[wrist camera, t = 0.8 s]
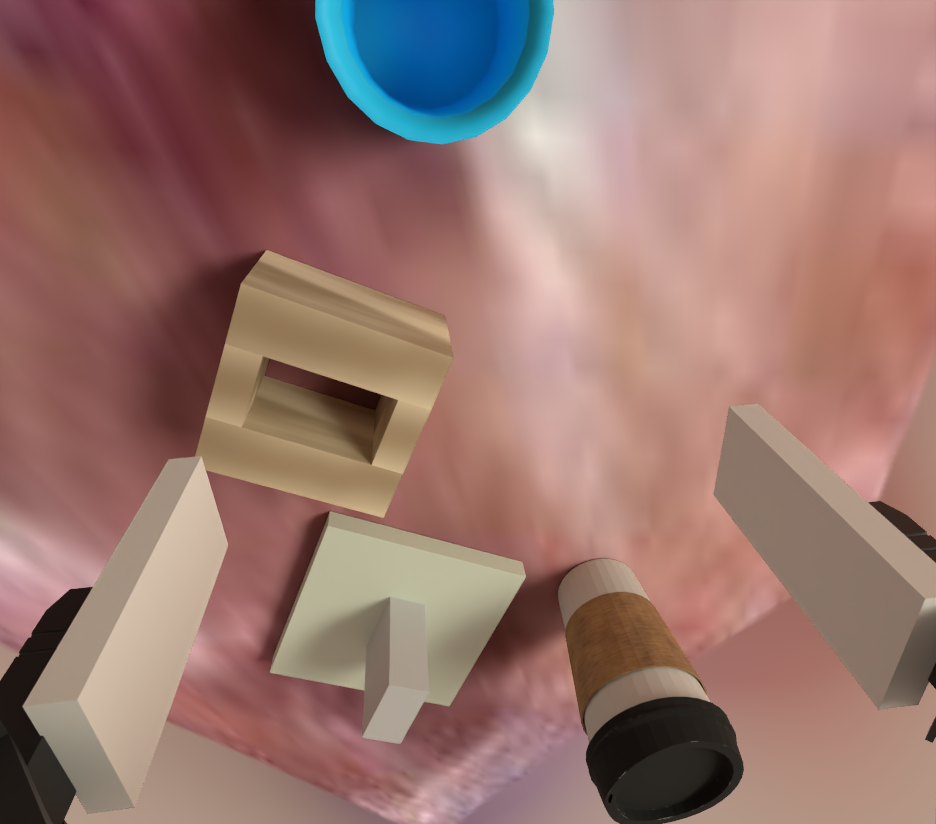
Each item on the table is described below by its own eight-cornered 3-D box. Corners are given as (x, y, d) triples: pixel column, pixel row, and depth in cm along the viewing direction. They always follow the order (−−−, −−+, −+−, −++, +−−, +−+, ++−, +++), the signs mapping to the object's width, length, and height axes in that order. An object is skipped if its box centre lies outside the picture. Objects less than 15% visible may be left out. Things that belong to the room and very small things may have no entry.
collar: (385, 458, 39) (383, 517, 33) (222, 410, 36) (192, 466, 31) (445, 316, 35) (453, 358, 29) (266, 250, 32) (241, 283, 27)
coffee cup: (545, 547, 44) (609, 749, 30) (660, 541, 44) (772, 736, 31) (536, 632, 47) (589, 844, 34) (642, 625, 48) (734, 829, 35)
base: (273, 655, 46) (249, 767, 38) (330, 511, 40) (315, 609, 33) (447, 689, 50) (457, 797, 42) (522, 561, 44) (547, 660, 36)
